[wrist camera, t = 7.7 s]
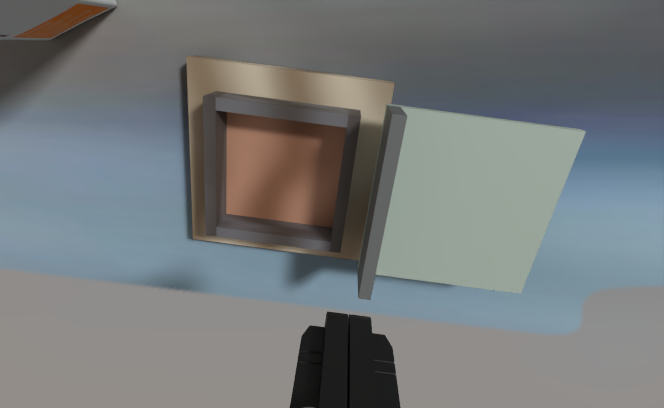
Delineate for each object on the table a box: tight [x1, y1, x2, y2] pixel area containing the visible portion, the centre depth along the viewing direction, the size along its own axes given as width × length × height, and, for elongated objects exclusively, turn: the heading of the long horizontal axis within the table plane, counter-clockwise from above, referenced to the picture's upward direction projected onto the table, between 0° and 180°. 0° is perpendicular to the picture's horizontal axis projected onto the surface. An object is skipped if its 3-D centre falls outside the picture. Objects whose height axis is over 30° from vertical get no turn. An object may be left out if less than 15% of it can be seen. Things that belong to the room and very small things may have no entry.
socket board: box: [186, 56, 394, 261], centre depth 27 cm, size 14×14×4 cm
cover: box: [358, 104, 586, 300], centre depth 23 cm, size 12×12×4 cm
